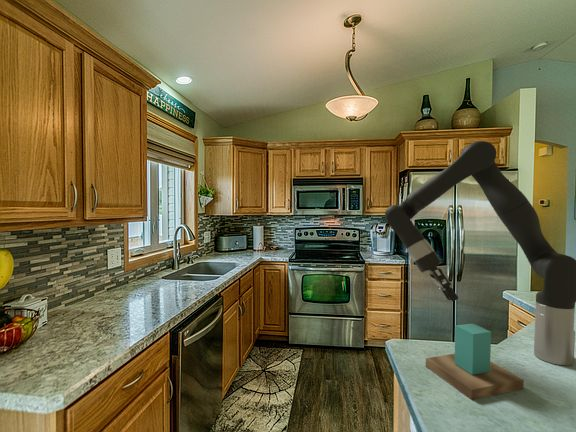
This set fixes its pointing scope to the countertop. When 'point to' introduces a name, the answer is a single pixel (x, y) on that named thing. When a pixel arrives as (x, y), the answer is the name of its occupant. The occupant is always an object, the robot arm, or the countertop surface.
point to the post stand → (474, 378)
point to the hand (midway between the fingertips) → (453, 299)
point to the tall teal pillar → (472, 348)
